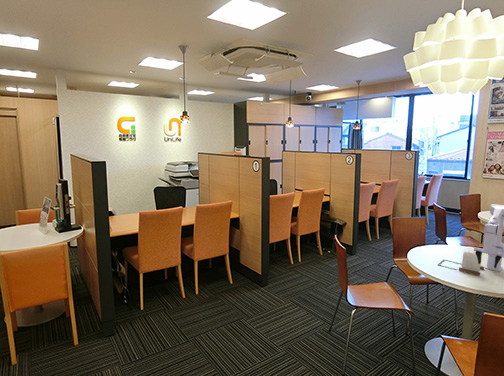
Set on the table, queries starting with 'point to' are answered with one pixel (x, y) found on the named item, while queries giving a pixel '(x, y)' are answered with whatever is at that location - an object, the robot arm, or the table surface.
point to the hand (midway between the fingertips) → (487, 265)
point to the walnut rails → (471, 270)
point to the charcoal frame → (445, 266)
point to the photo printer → (470, 261)
